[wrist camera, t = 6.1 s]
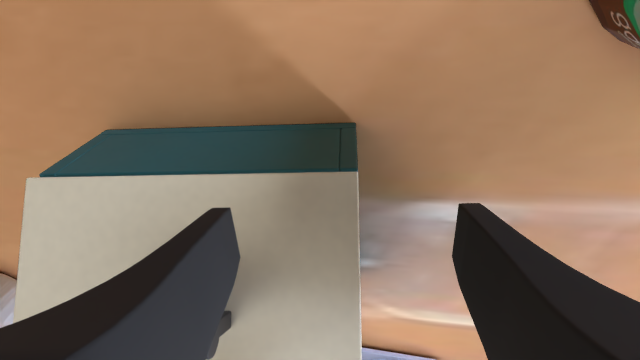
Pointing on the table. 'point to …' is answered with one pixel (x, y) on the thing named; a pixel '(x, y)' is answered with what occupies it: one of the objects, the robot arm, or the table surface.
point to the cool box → (214, 151)
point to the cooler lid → (253, 241)
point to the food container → (620, 19)
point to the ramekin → (7, 299)
